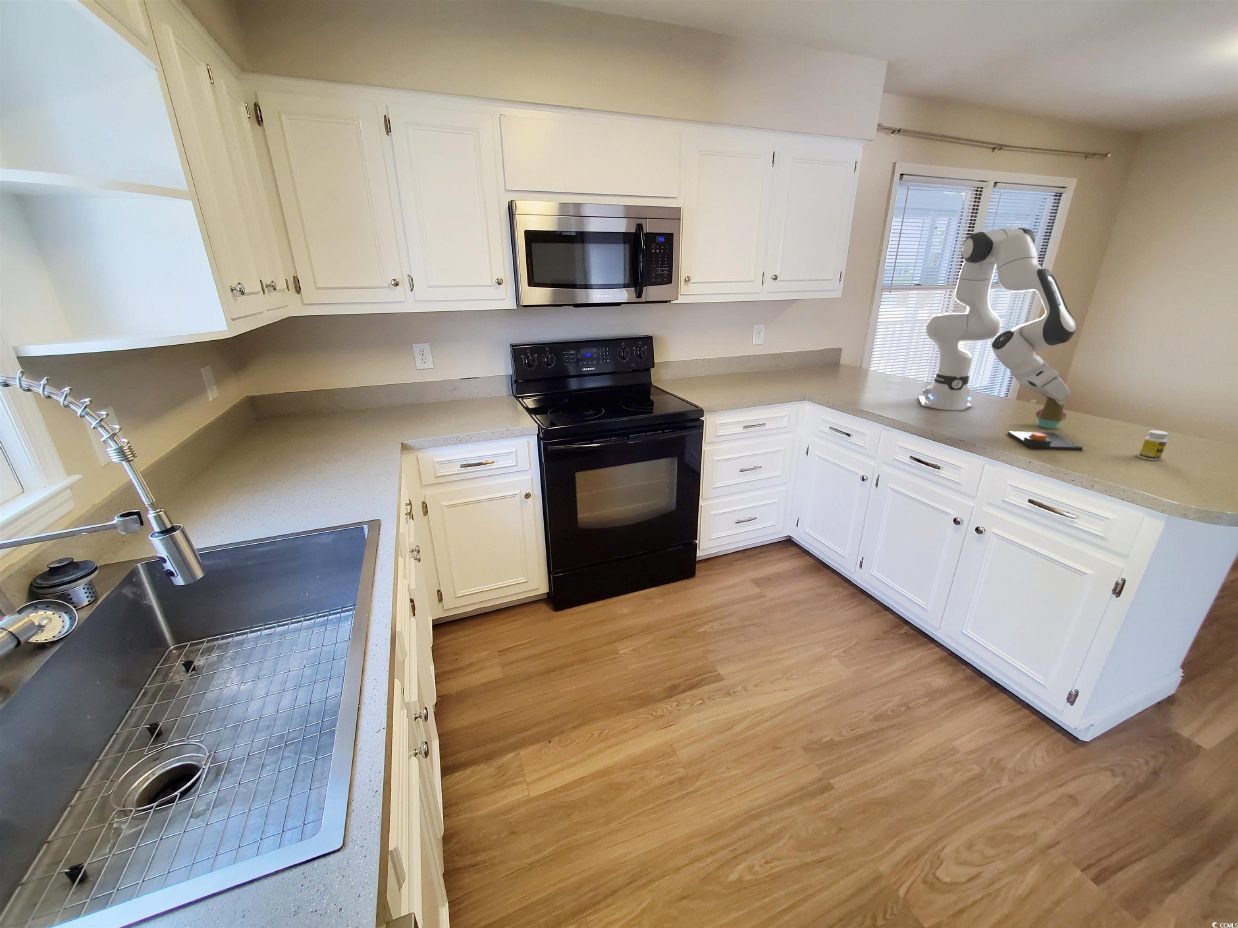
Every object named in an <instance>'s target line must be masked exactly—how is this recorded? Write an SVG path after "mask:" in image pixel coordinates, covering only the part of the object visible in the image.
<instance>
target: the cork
mask: <svg viewBox="0 0 1238 928" xmlns="http://www.w3.org/2000/svg"><path fill="white" fill-rule="evenodd" d="M1064 404H1065V403H1064ZM1064 404H1063V405H1059V404H1057V403H1056V402H1055V399H1052V398H1050V397H1048V399H1047V398H1046V401H1045V402H1044V405H1043V407H1042V409H1043V410H1042V412H1041V414H1040V416H1039V418H1040V419H1043V420H1048V421H1061V420H1062V414H1063V412H1064V406H1065V405H1064ZM1062 421H1063V420H1062ZM1062 421H1061V422H1062Z"/></svg>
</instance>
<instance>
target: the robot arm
mask: <svg viewBox="0 0 1238 928" xmlns="http://www.w3.org/2000/svg"><path fill="white" fill-rule="evenodd" d="M1034 233H1035V232H1034V231H1033V230H1032V229H1030V228H1026V227H1017V228H998V229H993V230H986V231H978V232H974V233H972V234H970V235H968V236H967V237H966V238H965V240H964V241H963V243H962V245H961V250H960V251H961V254H960V255H961V258H962V259H963V262H962V266H961V268H960V271H959V274H958V279H957V283H956V286H955V291H954V299H955V301H956V302H957V303H959V304H961V305H963V306H964V307H967V311H966V312H964V313H963V312H962V313H959V312H956V313H955V312H954V313H953V312H952V313H943V314H938V315H936V314H935V315H933V316H932V317H931V318H930V319H929V320H928V321H927V323H926V327H925V331H926V332H925V333H926V336H927V337H928V338H929V339H930V340H931V341H932V342H934V344H935V345H936V346H937V348H938V352H939V363H938V369H937V372H936V375H935V376H934V379H933V381H932V383H930V384H929V385H928V386H927V387H926V388H923V391H922V394H923V395H924V396H919V397H918V398H917V399H918V401H919V403H920V406H921V407H925V408H931V409H936V410H942V411H963V410H966V409H969V408H971V407H972V404H971V403H969V401H972V397H970V395H971V394H970V393H971V388H970V387H969V385H968V384H969V381H970V370H971V365H972V362H973V357H972V355H971V353H970V352H969V351H967V350H965V349H963V348H960V346H959V343H960V342H981V341H988V340H992V339H993V341H992V342H991V349H992V352H993V354H994V355H995V357H996V358H997V359H998V361H999V362H1000V363H1001V364H1002V365H1003V367H1005V368H1007V369H1008V370H1009V373H1010V374H1011V375H1012V377H1013V378H1014V379H1015V381H1017V382H1018V383H1019V385H1021V386H1024V387H1025V388H1026V389H1028V390H1030V391H1032V392H1035V393H1037V394H1039V395H1042V396H1043V397H1044V398H1045V399H1046V400H1047V399H1048V397H1050V398H1052V399H1055V402H1056V403H1057V404H1059V405H1063V404H1066V403H1067V402H1066V399H1068V398H1069V397H1071V395H1072V394H1071V391H1070V390H1071V389H1069V387H1068V386H1067V385H1066V383H1065V382H1064V381H1063V380H1062V378H1061V377H1060V376H1059V372H1058V371H1057V370H1056V369H1055V368H1053V367H1051V366H1050V365H1049V364H1048V363H1047V362H1046V361H1045V360H1044V359H1043V358H1042V357H1041V356H1040V355H1038V354H1036V352H1037V351H1039V350H1042V349H1045V348H1048V347H1053V346H1057V345H1061V344H1065V343H1067V342H1069V341H1071V340H1072V339H1071V338H1072V337H1073V336H1074V335H1075V333H1076V331H1077V322H1076V320H1075V318H1074V317H1073V315H1072V313H1071V312H1070V310H1069V309H1068V306H1067V304H1066V301H1065V299H1064V296H1063V293H1062V291H1061V289H1060V286H1059V284H1058V281H1057V279H1056V277H1055V275H1054V274H1053V272H1052V271H1051V270H1050V269H1048V268H1042V267H1041V265H1040V263H1039V259H1038V254H1037V250H1036V246H1035V242H1036V236H1035V234H1034ZM995 268H996V269H995ZM995 270H996V275H997V280H998V283H999V285H1000V287H1001V288H1003V289H1004V290H1006V291H1009V292H1016V293H1019V292H1020V293H1023V292H1031V291H1033V292H1034V291H1035V292H1036V293H1037V294H1038V296H1039V298H1040V300H1041V303H1042V306H1043V309H1044V311H1045V313H1044V315H1043V316H1042V317H1041V318H1038V319H1035V320H1033V321H1030V322H1027V323H1023V324H1021V325H1018V326H1016V327H1014V328H1012V329H1009V330H1005V331H1004V332H1001V333H1000V331H1001V328H1002V321H1001V319H1000V317H999V315H997V314H996V313H995V312H994V311H993V310H992V309H991V306H990V303H989V295H990V291H991V286H992V282H993V278H994V274H995ZM999 333H1000V334H999Z"/></svg>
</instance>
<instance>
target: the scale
mask: <svg viewBox="0 0 1238 928" xmlns="http://www.w3.org/2000/svg"><path fill="white" fill-rule="evenodd" d="M1034 432H1035V431H1008V432H1007V435H1008V436H1009V437H1011V438H1013V439H1014V440H1017V441H1018V442H1020V443H1021V444H1023V445H1024V446H1026V447H1027V448H1029V449H1031V450H1044V451H1045V450H1046V451H1047V450H1048V451H1049V450H1050V451H1078V452H1079V451H1082V450H1083V446H1081V445H1079V444H1077V443H1075V442H1073V441H1072V440H1069V439H1067V438H1065V437H1063V436H1062V435H1060V434H1057V433H1055V432H1049V431H1048V432H1045V431H1036V432H1037V433H1044V434H1046V435H1047V437H1046V440H1034V439H1031V438H1030V437H1031V433H1034Z"/></svg>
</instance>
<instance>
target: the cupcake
mask: <svg viewBox="0 0 1238 928" xmlns="http://www.w3.org/2000/svg"><path fill="white" fill-rule="evenodd" d="M1042 410H1043V408H1041V409H1038V411H1036V413H1035V417H1036V418H1037V420H1038V426H1039V427H1040V428H1044V429H1056V428H1057V426H1058V425H1059V424H1060V423H1061V422H1062V421H1065V420H1066V419H1067V414H1066V412H1065V411H1063V414H1062V420H1061V421H1048V420H1043V419H1040V418H1039V416H1040V414H1041V412H1042Z"/></svg>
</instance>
